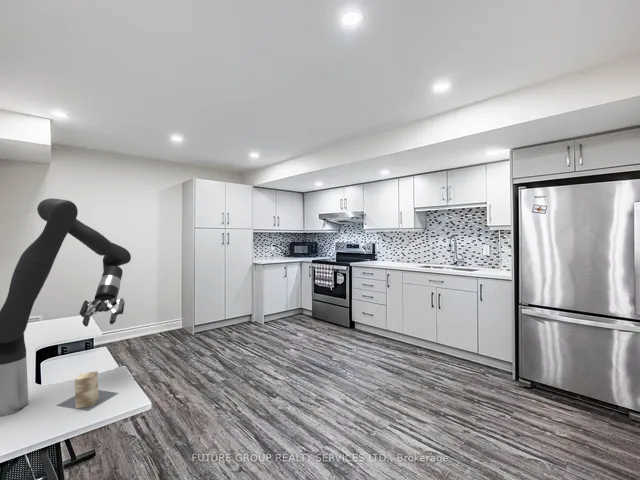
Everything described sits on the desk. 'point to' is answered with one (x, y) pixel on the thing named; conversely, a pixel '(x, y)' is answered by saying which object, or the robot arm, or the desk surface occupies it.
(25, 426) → the desk surface
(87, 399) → the maple block
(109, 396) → the rubber mat
